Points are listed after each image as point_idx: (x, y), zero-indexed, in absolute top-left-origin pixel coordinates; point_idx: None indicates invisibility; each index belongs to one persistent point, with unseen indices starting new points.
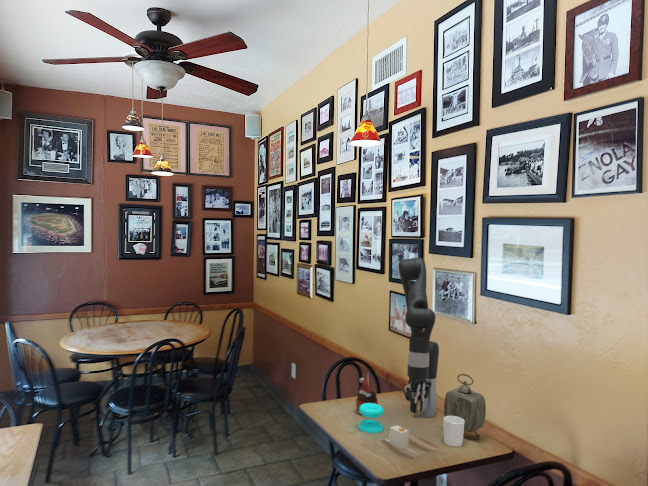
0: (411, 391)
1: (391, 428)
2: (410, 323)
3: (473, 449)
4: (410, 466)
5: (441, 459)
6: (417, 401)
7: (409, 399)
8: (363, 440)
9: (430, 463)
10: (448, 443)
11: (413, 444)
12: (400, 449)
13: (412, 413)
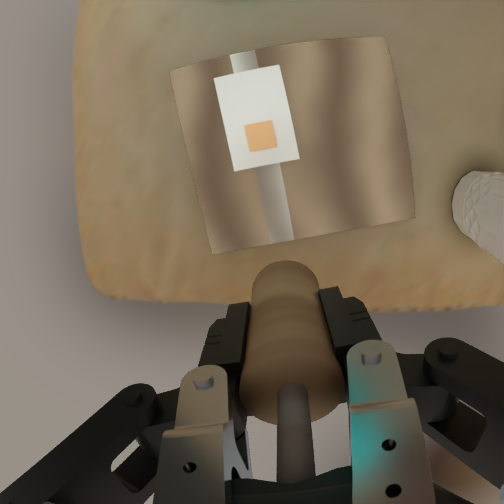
0: (197, 474)
1: (217, 91)
2: None
3: None
4: (214, 269)
5: (363, 271)
6: (269, 422)
7: (137, 440)
8: (156, 20)
9: None
10: (460, 215)
11: (332, 144)
12: None
13: (251, 297)
